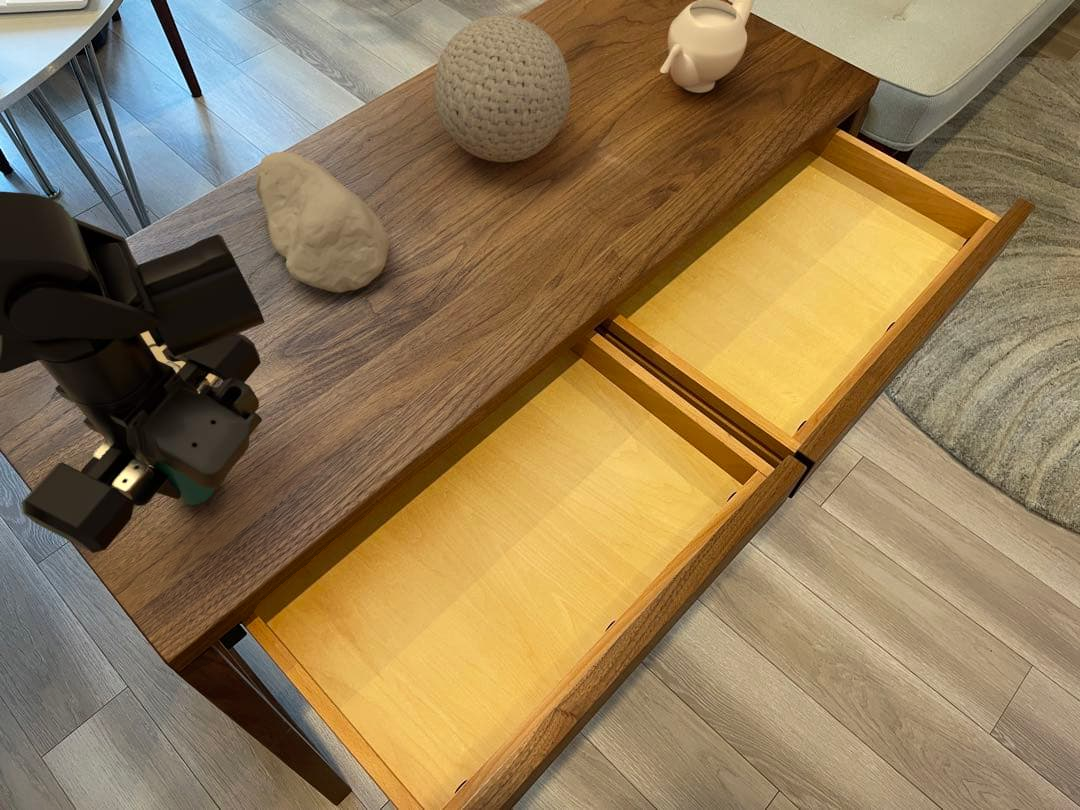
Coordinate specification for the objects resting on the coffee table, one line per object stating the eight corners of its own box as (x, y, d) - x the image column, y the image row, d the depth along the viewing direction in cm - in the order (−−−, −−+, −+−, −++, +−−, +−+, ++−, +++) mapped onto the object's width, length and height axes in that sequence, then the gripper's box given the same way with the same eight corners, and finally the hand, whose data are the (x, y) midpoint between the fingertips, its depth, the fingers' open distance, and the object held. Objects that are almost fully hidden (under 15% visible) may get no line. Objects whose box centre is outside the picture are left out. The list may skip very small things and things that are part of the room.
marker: (172, 500, 66) (131, 451, 59) (196, 470, 68) (160, 419, 61) (203, 516, 65) (166, 467, 58) (226, 485, 67) (193, 434, 60)
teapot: (621, 101, 98) (631, 31, 90) (708, 33, 106) (724, -36, 99) (684, 135, 95) (701, 66, 87) (768, 62, 103) (790, -7, 96)
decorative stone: (418, 249, 79) (351, 206, 70) (357, 323, 81) (284, 289, 72) (340, 164, 87) (272, 116, 79) (286, 232, 89) (214, 192, 81)
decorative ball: (579, 120, 95) (590, 0, 83) (548, 202, 87) (554, 83, 75) (462, 96, 97) (455, -25, 84) (421, 175, 89) (406, 54, 76)
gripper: (105, 538, 45) (195, 621, 58) (293, 313, 54) (335, 429, 67) (-41, 462, 47) (78, 559, 60) (164, 259, 57) (228, 381, 70)
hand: (189, 478), depth 64 cm, fingers closed on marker, 3 cm apart
